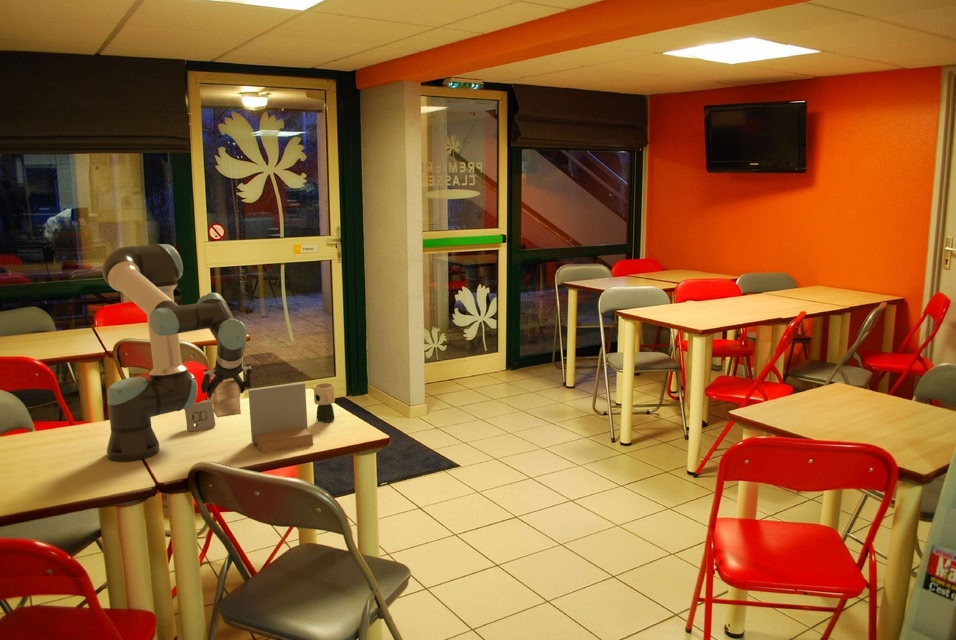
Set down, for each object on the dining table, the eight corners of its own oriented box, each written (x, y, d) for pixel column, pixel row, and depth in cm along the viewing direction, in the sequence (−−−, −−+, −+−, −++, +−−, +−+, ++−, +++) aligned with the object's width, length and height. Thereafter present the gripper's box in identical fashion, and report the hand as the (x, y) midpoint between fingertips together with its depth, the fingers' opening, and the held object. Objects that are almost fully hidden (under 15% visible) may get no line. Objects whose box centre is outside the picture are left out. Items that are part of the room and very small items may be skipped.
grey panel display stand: (259, 453, 244) (256, 398, 240) (251, 442, 254) (248, 389, 251) (316, 444, 252) (313, 390, 248) (306, 433, 262) (303, 382, 259)
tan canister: (217, 417, 237) (214, 378, 235) (213, 411, 244) (210, 373, 242) (240, 414, 241) (238, 376, 238) (236, 408, 247) (233, 371, 245)
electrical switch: (187, 432, 265) (185, 406, 264) (184, 430, 269) (182, 403, 268) (216, 428, 270) (213, 401, 269) (212, 425, 274) (210, 399, 273)
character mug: (312, 418, 279) (310, 383, 277) (331, 415, 282) (329, 380, 280) (319, 426, 269) (317, 390, 267) (339, 423, 272) (337, 387, 270)
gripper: (195, 374, 221) (192, 414, 239) (266, 365, 230) (258, 404, 247) (191, 352, 225) (189, 393, 242) (261, 344, 234) (254, 384, 251)
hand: (224, 399), depth 245 cm, fingers closed on tan canister, 7 cm apart
